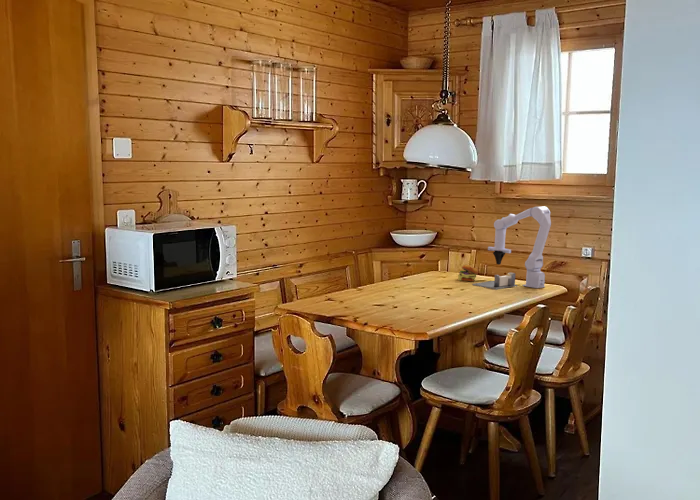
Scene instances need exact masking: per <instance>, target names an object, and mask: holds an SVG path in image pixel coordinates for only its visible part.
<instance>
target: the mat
mask: <svg viewBox="0 0 700 500" xmlns="http://www.w3.org/2000/svg"><path fill="white" fill-rule="evenodd" d="M472 286H475V287H480V288H485V287H486V289H490V290H496V291H497V290H504V289H509V288H516V287H518V284H515V285H514V286H508V285H506V286H499V287H494V280H490V281H483V282H477V283H472ZM515 286H516V287H515Z"/></svg>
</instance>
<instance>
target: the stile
mask: <svg viewBox="0 0 700 500" xmlns="http://www.w3.org/2000/svg"><path fill="white" fill-rule="evenodd" d="M507 274H510V276H512V278H509V279H508V286H514V285H516V273H515V272H507Z"/></svg>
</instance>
